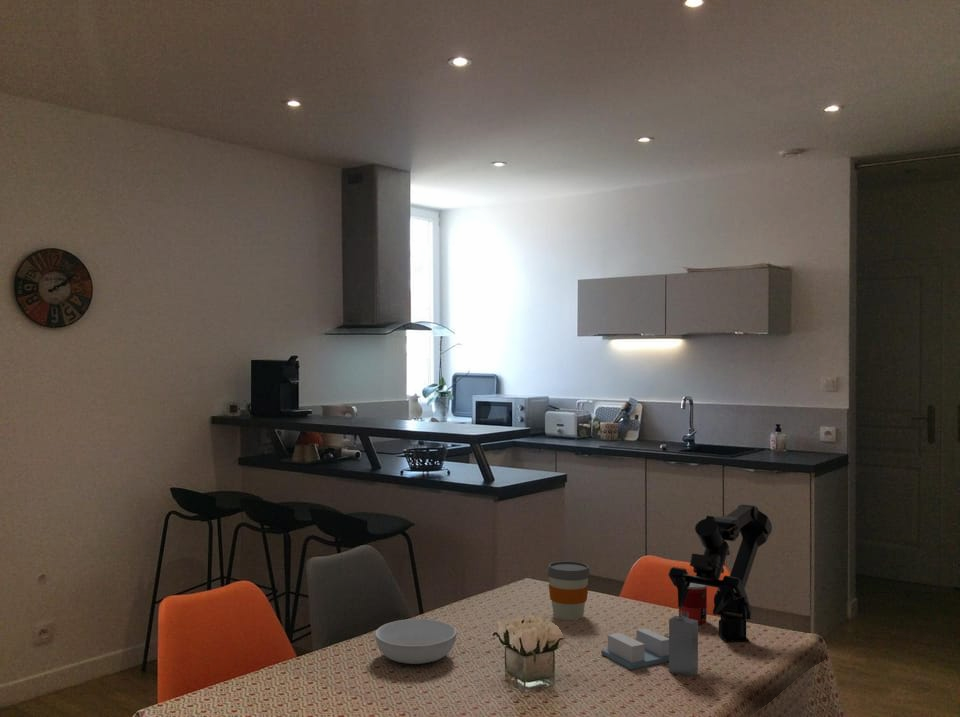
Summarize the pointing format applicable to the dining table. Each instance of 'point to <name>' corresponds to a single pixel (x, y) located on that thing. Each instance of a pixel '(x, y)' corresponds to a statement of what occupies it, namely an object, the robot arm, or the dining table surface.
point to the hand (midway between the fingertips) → (696, 610)
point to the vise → (638, 649)
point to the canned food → (695, 603)
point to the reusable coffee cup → (568, 589)
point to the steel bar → (683, 646)
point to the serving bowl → (415, 640)
